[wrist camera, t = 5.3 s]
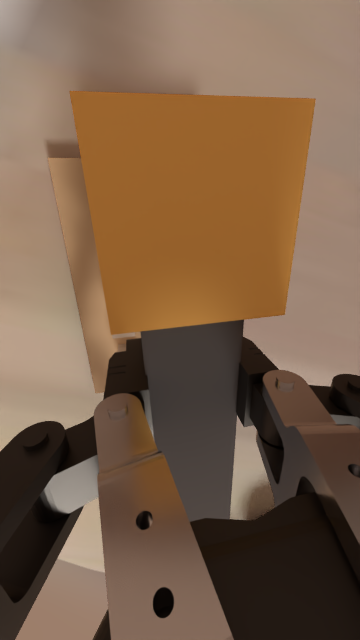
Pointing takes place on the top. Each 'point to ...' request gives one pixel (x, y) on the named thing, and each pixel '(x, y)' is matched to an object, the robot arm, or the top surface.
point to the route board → (85, 267)
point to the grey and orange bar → (193, 252)
